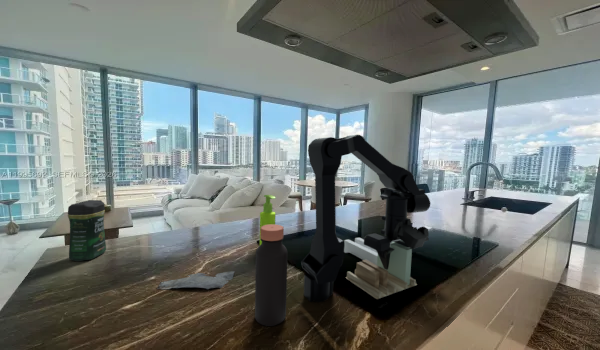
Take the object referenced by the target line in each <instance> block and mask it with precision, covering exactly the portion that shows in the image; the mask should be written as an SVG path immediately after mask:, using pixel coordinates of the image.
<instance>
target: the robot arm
mask: <svg viewBox="0 0 600 350" xmlns="http://www.w3.org/2000/svg"><path fill="white" fill-rule="evenodd" d="M307 153H308V159H309V164H310V166H311V168H312V171H313V174H314V181H315V184H314V185H315V234H313V235H314V236H313V238H312V239H311V243H310V249H309V252H308V253H307V254H306V256H305V257H304V258H303V259H302V260H301V261H300V263H301V267H302V270H304V271H305V272H306V273H304V275H303V276H304V279H303V296H304V298H306V299H307V300H308V301H309V302H311V303H312V302H314V303H315V302H316V303H321V302H325V301H327V300H329V298H330V297H331V296H332V295H333V294H334V282H336V280H337V277H338V274H339V271H340V268H341V267H342V265H343V263H344V258H346V255H345V252H344V247H345V244H344V239H341V238H340V237H338V236H337V232H336V225H337V224H336V175H337V173H338V171H339V168H340V166H341V164H342V157H343V156H346V155H349V154H350V155H353V156H355V158H357V159H358V160H359V161H360V162H362V163H363V164H364V165H365V166H367V167H368V168H370V170H372V171H373V172H374V173H376V175H377V176H378V180H379V181H380V182H381V183H382V185H383V186H384V187H385V188H386V190H385V191H384V192H382V193H381V195H380V196H379V197H380V198H381V199H384V200H385V215H382V216H381V220H382V221H384V228H383V229H380V234H382V235H380V234H377V233H376V232H375V233H374V232H373V233H369V234H366V235H365V236H364V237H363V240H364V245H366V246H368V247H370V248H373V249H375V250H376V251H377V253H378V255H379V257H380V260H381V262H382V265H383V267H384V269H386V270H388V267H389V260H390V253H391V252H392V251H394V250H395V249H393V248H391V243H392V242H395V243H398V244H400V245H403V246H405V247H408V248H411V249H412V250H414V249H417V248H422V247H423V246H424V245H425V242H428V241H429V235H430V234H429V233H430V232H429V229H428V228H427V227H426V226H420V227H417V226H416V227H415V226H413V225H412V221H411V219H410V218H408V214H413V213H422V212H426V211H428V210H429V209H430V208H431V199H430V197H429V196H428V195H427V194H426V189H423V188H419V187H418V185H417V183H416V181H415V179H414V174H413V173H412V172H411V171H410V170H408V169H407V168H405V167H402V166H399V165H396V164H394V163H393V162H391V160H389V159H388V158H387V157H385V156H384V155H383V154H382V153H380V152H379V150H377V149H376V148H375V147H373V146H372V145H371V144H370V143H369V142H367V140H366V139H365V138H364V136H363V135H360V134H351V135H350V134H349V135H346V136H345V137H344V136H343V137H339V138H338V137H337V138H335V137H332V136H330V137H321V138H320V137H319V138H315V139H313V140H311V142H310V143H309V144H308V147H307Z"/></svg>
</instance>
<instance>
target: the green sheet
mask: <svg viewBox="0 0 600 350" xmlns="http://www.w3.org/2000/svg"><path fill="white" fill-rule="evenodd" d="M391 248H393V249H395V250H394V251H392V252H391V253H390V260H389V267H388V270H387V271H388V273H390V274H392V275H394V276H396V277H398V278H399V279H401V280H403V281H405V282H407V283H408V284H407V285H410V277H411V269H412V268H411V267H412V256H413V254H412V253H413V249H412V248H408V247H405V246H403V245H400V244H398V243H395V242H392V243H391ZM377 266H379V267H381V268H383V269H384V267H383V265H382V262H381V260H380V257H379V255H378V257H377ZM385 270H386V269H385Z"/></svg>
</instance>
